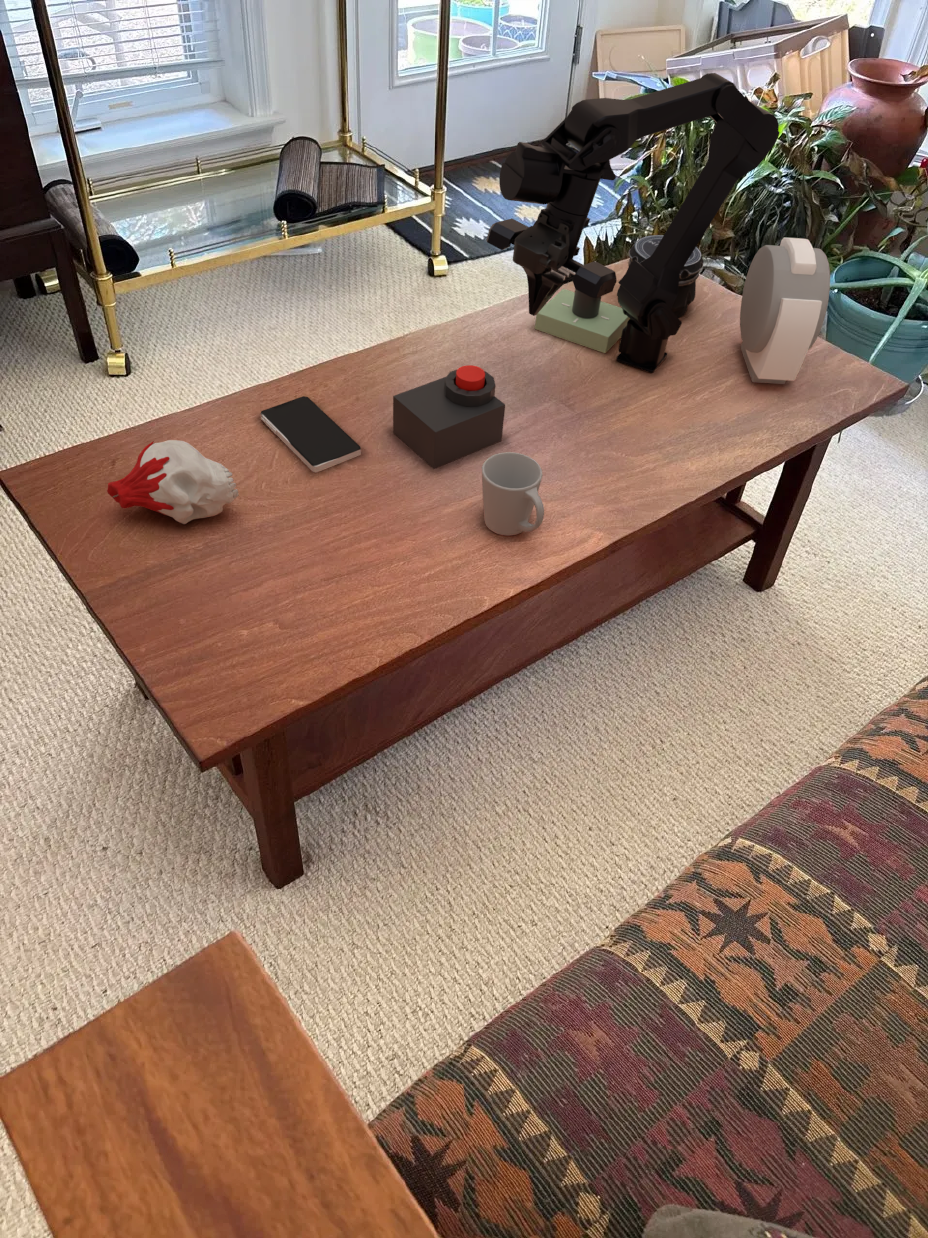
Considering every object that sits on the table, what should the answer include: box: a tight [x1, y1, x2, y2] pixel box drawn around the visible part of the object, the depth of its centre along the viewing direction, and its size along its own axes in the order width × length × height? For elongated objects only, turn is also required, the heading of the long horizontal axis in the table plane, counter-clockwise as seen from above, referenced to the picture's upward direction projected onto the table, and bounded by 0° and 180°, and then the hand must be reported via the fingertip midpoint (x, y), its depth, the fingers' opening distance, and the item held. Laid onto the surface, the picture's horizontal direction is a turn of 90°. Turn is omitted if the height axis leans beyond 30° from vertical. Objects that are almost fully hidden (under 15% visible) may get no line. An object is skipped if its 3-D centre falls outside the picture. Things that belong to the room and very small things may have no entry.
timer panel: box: [534, 288, 630, 354], centre depth 157 cm, size 13×10×3 cm
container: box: [627, 234, 704, 319], centre depth 162 cm, size 13×13×10 cm
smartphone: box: [259, 395, 362, 473], centre depth 133 cm, size 8×1×15 cm
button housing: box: [392, 369, 506, 470], centre depth 133 cm, size 13×10×8 cm
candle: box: [106, 439, 240, 525], centre depth 119 cm, size 9×11×15 cm
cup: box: [481, 451, 545, 537], centre depth 120 cm, size 8×10×8 cm
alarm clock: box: [739, 237, 831, 385], centre depth 147 cm, size 18×8×20 cm, turn 179°
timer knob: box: [572, 288, 602, 318], centre depth 155 cm, size 4×4×5 cm
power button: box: [456, 364, 485, 391], centre depth 131 cm, size 4×4×2 cm
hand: (532, 314), depth 138 cm, fingers closed
